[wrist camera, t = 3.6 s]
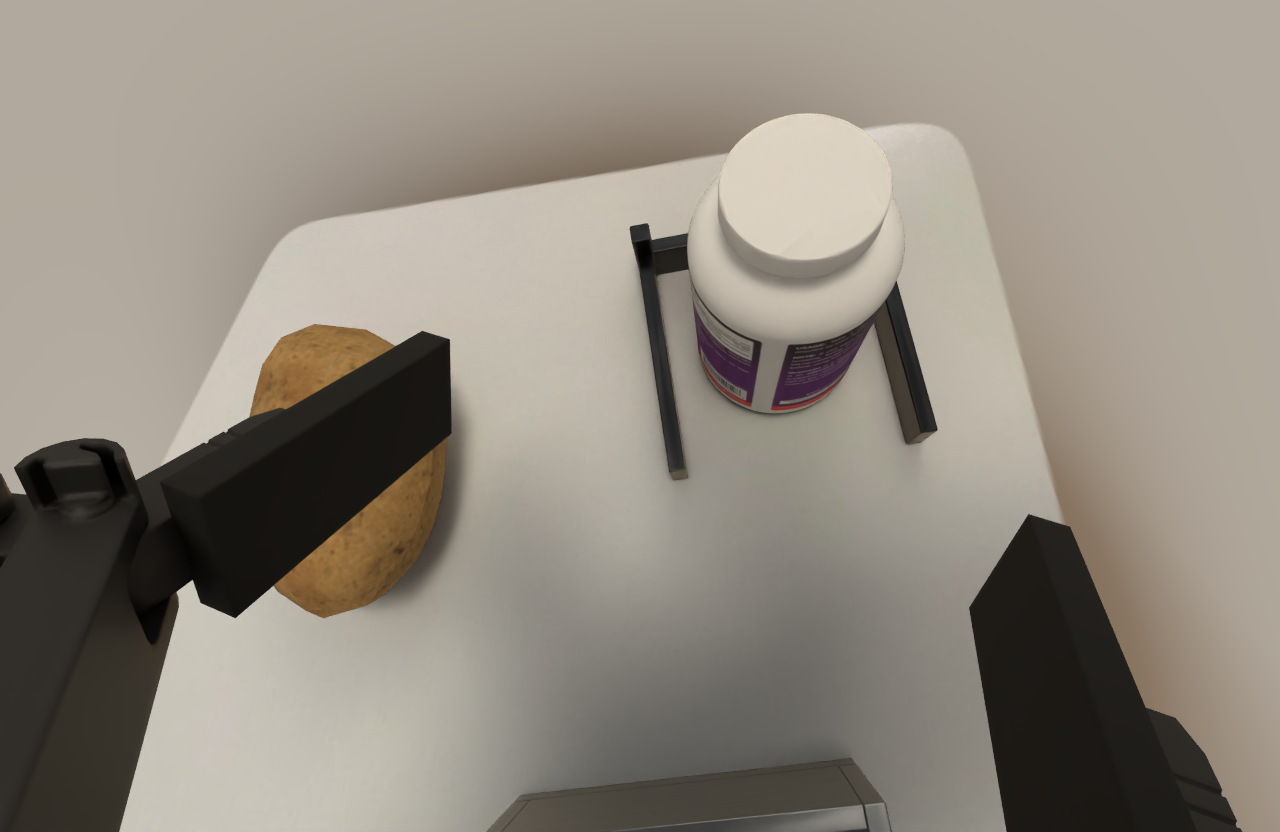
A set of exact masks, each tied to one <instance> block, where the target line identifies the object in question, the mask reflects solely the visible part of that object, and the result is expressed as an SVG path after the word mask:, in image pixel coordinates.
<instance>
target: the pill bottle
mask: <svg viewBox="0 0 1280 832" xmlns="http://www.w3.org/2000/svg"><path fill="white" fill-rule="evenodd" d="M892 183H893V181H892V174H891V170H890V166H889V163H888V161H887V159H886V157H885V155H884V153H883V151H882V150H881V148H880V147H879V145H878V144H877V143H876V142H875V141H874V140H873V139H872V138H871V137H870V136H869V135H868V134H867V133H865V132H864V131H863V130H861V129H860V128H858V127H857V126H855V125H853V124H851V123H849V122H847V121H845V120H842V119H839V118H836V117H832V116H828V115H822V114H794V115H788V116H784V117H781V118H777V119H774V120H771V121H769V122H766V123H764V124H762V125H761V126H759V127H757V128H755V129H754V130H752V131H751V132H749V133H748V134H747V135H745V136H744V137H743V138H742V139H741V140H740V141H739V142H738V143H737V144H736V145H735V147H734V148H733V149H732V151H731V152H730V153H729V155H728V157H727V158H726V160H725V162H724V165H723V167H722V169H721V173H720V175H719V176H718V177H717V178H716V179H715V181H714V182H713V183H712V184H711V185H710V186H709V188H708V189H707V190H706V192H705V193H704V194H703V196H702V197H701V199H700V201H699V203H698V205H697V207H696V209H695V211H694V214H693V216H692V219H691V222H690V227H689V232H688V242H687V255H688V266H689V273H690V281H691V290H692V297H693V306H694V315H695V323H696V331H697V340H698V349H699V354H700V359H701V362H702V365H703V368H704V370H705V372H706V374H707V376H708V377H709V379H710V380H711V382H712V383H713V384H714V386H715V387H716V388H717V389H718V390H719V391H720V392H721V393H722V394H723V395H724V396H726V397H727V398H728V399H730V400H731V401H733V402H735V403H737V404H738V405H740V406H743V407H745V408H748V409H750V410H754V411H758V412H764V413H787V412H793V411H797V410H801V409H803V408H806V407H808V406H811V405H813V404H814V403H816V402H818V401H820V400H821V399H823V398H824V397H825V396H827V395H828V394H829V393H830V392H831V391H832V390H833V389H834V388H835V387H836V386H837V385H838V383H839V382H840V381H841V379H842V378H843V376H844V375H845V373H846V372H847V370H848V368H849V366H850V364H851V362H852V360H853V358H854V357H855V355H856V353H857V351H858V350H859V348H860V346H861V344H862V342H863V340H864V338H865V337H866V335H867V333H868V331H869V329H870V328H871V326H872V324H873V322H874V320H875V319H876V317H877V315H878V313H879V311H880V310H881V308H882V306H883V304H884V303H885V301H886V299H887V297H888V296H889V294H890V292H891V291H892V289H893V287H894V284H895V282H896V280H897V278H898V276H899V273H900V270H901V267H902V263H903V258H904V250H905V237H904V229H903V223H902V218H901V214H900V211H899V208H898V206H897V203H896V201H895V199H894V197H893V196H892Z"/></svg>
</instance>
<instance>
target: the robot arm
mask: <svg viewBox="0 0 1280 832" xmlns="http://www.w3.org/2000/svg"><path fill="white" fill-rule="evenodd" d="M451 433H452V432H451V379H450V339H447V338H444V337H440V336H437V335H434V334H430V333H427V332H424V331H421V332H420V333H418V334H416V335H414V336H413V337H411V338H409V339H408V340H406V341H404V342H402V343H401V344H399V345H397V346H395V347H394V348H392V349H390V350H388V351H387V352H385V353H383V354H381V355H380V356H378V357H376V358H374V359H373V360H371V361H369V362H368V363H366V364H364V365H362V366H361V367H359V368H357V369H355V370H354V371H352V372H350V373H348V374H347V375H345V376H343V377H341V378H340V379H338V380H336V381H334V382H333V383H331V384H329V385H327V386H326V387H324V388H322V389H321V390H319V391H317V392H315V393H314V394H312V395H310V396H308V397H307V398H305V399H303V400H301V401H300V402H298V403H296V404H294V405H293V406H291V407H289V408H287V409H283V408H277V409H274V410H271V411H267V412H264V413H261V414H257V415H254V416H251V417H249V418H247V419H246V420H244V421H242V422H240V423H238V424H237V425H235V426H233V427H231V428H229V429H228V431H227V432H226V433H225V432H222V433H220V434H219V435H217V436H215V437H213V438H211V439H210V440H209V442H208V443H207V444H206V443H202V444H201V445H199V446H197V447H195V448H193V449H191V450H190V451H188V452H186V453H184V454H182V455H181V456H179V457H177V458H175V459H173V460H172V461H170V462H168V463H166V464H164V465H163V466H161V467H159V468H157V469H155V470H154V471H152V472H150V473H148V474H146V475H145V476H143V477H141V478H139V479H137V480H135V477H134V475H133V472H132V469H131V467H130V464H129V461H128V458H127V456H126V453H125V450H124V449H123V448H122V447H121V446H120V445H119V444H118V443H117V442H113V441H109V440H106V439H88V438H87V439H86V438H84V439H78V440H71V441H65V442H61V443H58V444H54V445H51V446H48V447H45V448H42V449H40V450H38V451H36V452H35V453H32V454H30V455H29V456H27V457H25V458H24V459H23V460H22V461H21V462H20V463H18V464H17V465H16V466H15V467H14V469H15V471H16V473H17V475H18V477H19V479H20V481H21V483H22V486H23V488H24V489H25V492H26V494H27V495H24V494H14V493H11V492H10V490H9V488H8V487H7V484H6V482H5V480H4V478H3V476H2V474H0V832H119V830H120V826H121V823H122V819H123V815H124V811H125V808H126V804H127V800H128V796H129V793H130V789H131V785H132V781H133V778H134V774H135V770H136V766H137V762H138V759H139V755H140V751H141V747H142V744H143V740H144V736H145V732H146V729H147V725H148V721H149V717H150V713H151V710H152V706H153V702H154V698H155V695H156V691H157V687H158V683H159V680H160V676H161V672H162V668H163V665H164V661H165V657H166V653H167V649H168V646H169V642H170V638H171V634H172V631H173V627H174V623H175V619H176V616H177V612H178V608H179V602H178V595H177V591H178V590H179V589H181V588H182V587H183V586H185V585H186V584H187V583H189V582H190V581H191V580H193V582H194V585H195V588H196V591H197V594H198V596H199V599H200V602H201V603H202V604H204V605H207V606H209V607H211V608H214V609H216V610H218V611H220V612H223V613H225V614H227V615H229V616H232V617H234V618H236V617H237V616H238V615H240V614H241V613H242V612H243V611H244V610H245V609H247V608H248V607H249V606H250V605H251V604H252V603H254V602H255V601H256V600H257V599H258V598H259V597H261V596H262V595H263V594H264V593H265V592H266V591H268V590H269V589H270V588H271V587H272V586H273V585H275V584H276V583H277V582H278V581H279V580H281V579H282V578H283V577H284V576H285V575H286V574H288V573H289V572H290V571H291V570H292V569H293V568H295V567H296V566H297V565H298V564H299V563H300V562H302V561H303V560H304V559H305V558H306V557H307V556H309V555H310V554H311V553H312V552H313V551H314V550H316V549H317V548H318V547H319V546H320V545H321V544H323V543H324V542H325V541H326V540H327V539H329V538H330V537H331V536H332V535H333V534H334V533H336V532H337V531H338V530H339V529H340V528H341V527H343V526H344V525H345V524H346V523H347V522H348V521H350V520H351V519H352V518H353V517H354V516H355V515H357V514H358V513H359V512H360V511H361V510H362V509H364V508H365V507H366V506H367V505H368V504H369V503H371V502H372V501H373V500H374V499H375V498H377V497H378V496H379V495H380V494H381V493H382V492H384V491H385V490H386V489H387V488H388V487H389V486H391V485H392V484H393V483H394V482H395V481H396V480H398V479H399V478H400V477H401V476H402V475H403V474H405V473H406V472H407V471H408V470H409V469H410V468H412V467H413V466H414V465H415V464H416V463H418V462H419V461H420V460H421V459H422V458H423V457H425V456H426V455H427V454H428V453H429V452H430V451H432V450H433V449H434V448H435V447H436V446H437V445H439V444H440V443H441V442H442V441H443V440H444V439H446V438H447V437H448V436H449V435H450V434H451ZM969 610H970V616H971V622H972V628H973V634H974V640H975V646H976V652H977V658H978V664H979V670H980V676H981V681H982V687H983V693H984V699H985V705H986V711H987V717H988V723H989V729H990V735H991V741H992V747H993V753H994V759H995V765H996V771H997V777H998V783H999V789H1000V795H1001V801H1002V807H1003V813H1004V819H1005V825H1006V831H1007V832H1242V831H1241V829H1240V828H1237V827H1236V822H1237V820H1236V818H1235V816H1234V814H1233V812H1232V810H1231V807H1230V805H1229V803H1228V801H1227V799H1226V798H1225V797H1222V795H1221V792H1222V789H1221V786H1220V784H1219V782H1218V780H1217V778H1216V776H1215V774H1214V772H1213V770H1212V768H1211V765H1210V764H1209V761H1208V759H1207V757H1206V755H1205V753H1204V752H1203V751H1202V750H1201V749H1200V747H1199V746H1198V745H1197V744H1196V743H1195V741H1194V740H1193V739H1192V738H1191V736H1190V735H1189V734H1188V733H1187V732H1186V730H1185V729H1184V728H1183V727H1182V725H1181V724H1180V723H1179V722H1178V721H1177V719H1176V718H1173V717H1171V716H1168V715H1165V714H1162V713H1160V712H1157V711H1154V710H1151V709H1148V708H1145V705H1144V703H1143V700H1142V698H1141V696H1140V693H1139V691H1138V689H1137V686H1136V684H1135V681H1134V679H1133V676H1132V674H1131V672H1130V669H1129V667H1128V664H1127V662H1126V660H1125V657H1124V655H1123V652H1122V650H1121V648H1120V645H1119V643H1118V641H1117V638H1116V636H1115V633H1114V631H1113V628H1112V626H1111V624H1110V622H1109V619H1108V616H1107V614H1106V612H1105V609H1104V607H1103V604H1102V602H1101V600H1100V597H1099V595H1098V593H1097V590H1096V588H1095V586H1094V583H1093V581H1092V578H1091V576H1090V573H1089V571H1088V569H1087V566H1086V564H1085V561H1084V559H1083V557H1082V554H1081V552H1080V550H1079V547H1078V545H1077V542H1076V540H1075V537H1074V535H1073V533H1072V530H1071V528H1070V527H1069V526H1066V525H1062V524H1059V523H1056V522H1052V521H1049V520H1046V519H1042V518H1039V517H1036V516H1033V515H1029V514H1028V516H1027V518H1026V519H1025V521H1024V522H1023V524H1022V525H1021V527H1020V529H1019V530H1018V532H1017V533H1016V535H1015V536H1014V538H1013V540H1012V541H1011V543H1010V544H1009V546H1008V547H1007V549H1006V551H1005V552H1004V554H1003V555H1002V557H1001V558H1000V560H999V562H998V563H997V565H996V566H995V568H994V569H993V571H992V573H991V574H990V576H989V577H988V579H987V581H986V582H985V584H984V585H983V587H982V588H981V590H980V592H979V593H978V595H977V596H976V598H975V599H974V601H973V603H972V604H971V606H970V607H969Z"/></svg>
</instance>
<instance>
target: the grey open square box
mask: <svg viewBox="0 0 1280 832" xmlns="http://www.w3.org/2000/svg"><path fill="white" fill-rule="evenodd" d="M486 832H892V831H891V826H890V821H889V817H888V812H887V807H886V803H885V802H884V800H883V799H882V798H881V796H880V795H879V794H878V792H877V791H876V790H875V788H874V787H873V786H872V784H871V783H870V782H869V781H868V779H867V778H866V777H865V775H864V774H863V773H862V771H861V770H860V769H859V767H858V766H857V765H856V764H855V762H854V761H853V760H852V759H842V760H833V761H824V762H815V763H806V764H797V765H788V766H779V767H770V768H761V769H752V770H743V771H734V772H725V773H716V774H707V775H698V776H689V777H680V778H672V779H663V780H654V781H645V782H636V783H627V784H618V785H609V786H600V787H591V788H582V789H573V790H564V791H555V792H546V793H537V794H528V795H521V796H520V797H519V798H518V799H517V800H516V801H515V802H514V803H513V804H512V805H511V806H510V807H509V808H508V809H507V810H506V811H505V812H504V813H503V814H502V816H501V817H500V818H499V819H498V820H497V821H496V822H495V823H494V824H493V825H492V826H491V827H490V828H489V829H488V830H487V831H486Z"/></svg>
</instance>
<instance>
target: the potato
mask: <svg viewBox="0 0 1280 832" xmlns="http://www.w3.org/2000/svg"><path fill="white" fill-rule="evenodd" d="M394 347H395V346H394V345H392V344H391V343H389V342H387V341H386V340H384V339H382V338H380V337H378V336H377V335H375V334H373V333H371V332H369V331H368V330H363V329H354V328H345V327H336V326H327V325H317V324H314V325H311V326H309V327H306V328H304V329H301V330H299V331H296V332H294V333H292V334H289V335H287V336H284V337H282V338H281V339H280V340H279V342H278V343H277V345H276V346H275V347H274V349H273V350H272V352H271V353H270V355H269V356H268V358H267V359H266V360H265V362H264V363H263V365H262V368H261V372H260V376H259V379H258V383H257V387H256V391H255V394H254V399H253V403H252V408H251V412H250V417H251V416H254V415H257V414H261V413H264V412H267V411H271V410H274V409H277V408H283V409H287V408H289V407H291V406H293V405H294V404H296V403H298V402H300V401H301V400H303V399H305V398H307V397H308V396H310V395H312V394H314V393H315V392H317V391H319V390H321V389H322V388H324V387H326V386H327V385H329V384H331V383H333V382H334V381H336V380H338V379H340V378H341V377H343V376H345V375H347V374H348V373H350V372H352V371H354V370H355V369H357V368H359V367H361V366H362V365H364V364H366V363H368V362H369V361H371V360H373V359H374V358H376V357H378V356H380V355H381V354H383V353H385V352H387V351H388V350H390V349H392V348H394ZM446 448H447V438H446V439H444V440H443V441H442V442H441V443H440V444H439V445H437V446H436V447H435V448H434V449H433V450H432V451H430V452H429V453H428V454H427V455H426V456H425V457H423V458H422V459H421V460H420V461H419V462H418V463H416V464H415V465H414V466H413V467H412V468H410V469H409V470H408V471H407V472H406V473H405V474H403V475H402V476H401V477H400V478H399V479H398V480H396V481H395V482H394V483H393V484H392V485H391V486H389V487H388V488H387V489H386V490H385V491H384V492H382V493H381V494H380V495H379V496H378V497H377V498H375V499H374V500H373V501H372V502H371V503H369V504H368V505H367V506H366V507H365V508H364V509H362V510H361V511H360V512H359V513H358V514H357V515H355V516H354V517H353V518H352V519H351V520H350V521H348V522H347V523H346V524H345V525H344V526H343V527H341V528H340V529H339V530H338V531H337V532H336V533H334V534H333V535H332V536H331V537H330V538H329V539H327V540H326V541H325V542H324V543H323V544H321V545H320V546H319V547H318V548H317V549H316V550H314V551H313V552H312V553H311V554H310V555H309V556H307V557H306V558H305V559H304V560H303V561H302V562H300V563H299V564H298V565H297V566H296V567H295V568H293V569H292V570H291V571H290V572H289V573H288V574H286V575H285V576H284V577H283V578H282V579H281V580H279V581H278V582H277V583H276V584H275V585H273V586H274V587H275V588H276V590H277V591H278V592H279V593H281V594H282V595H284V596H285V597H287V598H288V599H290V600H291V601H293V602H294V603H295V604H297V605H298V606H300V607H301V608H303V609H304V610H306V611H308V612H310V613H313V614H315V615H317V616H319V617H322V618H326V617H329V616H332V615H336V614H339V613H342V612H346V611H349V610H353V609H356V608H359V607H363V606H366V605H368V604H370V603H372V602H373V601H375V600H377V599H378V598H380V597H382V596H383V595H385V594H386V593H387V592H388V591H389V590H390V589H391V588H392V587H393V586H394V584H395V583H396V582H397V581H398V580H399V579H400V578H401V577H402V576H403V575H404V574H405V573H406V572H407V570H408V569H409V568H410V567H411V566H412V565H413V564H414V563H415V562H416V561H417V559H418V557H419V555H420V553H421V551H422V549H423V547H424V545H425V543H426V541H427V539H428V536H429V534H430V532H431V530H432V528H433V526H434V523H435V519H436V515H437V511H438V506H439V502H440V498H441V493H442V487H443V479H444V471H445V463H446Z"/></svg>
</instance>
